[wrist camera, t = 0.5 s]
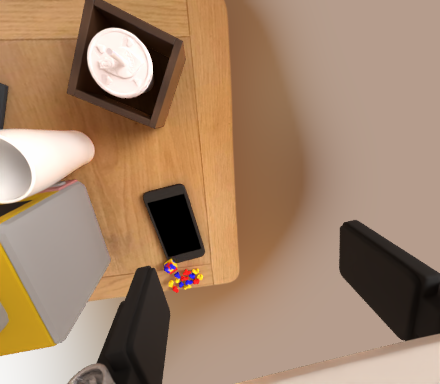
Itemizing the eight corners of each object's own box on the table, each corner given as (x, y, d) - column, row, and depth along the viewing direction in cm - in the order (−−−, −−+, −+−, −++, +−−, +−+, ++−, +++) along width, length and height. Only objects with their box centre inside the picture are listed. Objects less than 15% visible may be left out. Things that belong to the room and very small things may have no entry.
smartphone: (169, 263, 42) (168, 266, 41) (141, 192, 37) (140, 194, 36) (206, 253, 42) (206, 256, 41) (183, 181, 37) (183, 182, 36)
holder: (114, 24, 29) (86, -9, 22) (185, 59, 31) (183, 41, 24) (96, 98, 32) (66, 93, 24) (163, 126, 34) (154, 129, 26)
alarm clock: (90, 172, 35) (-13, 228, 18) (117, 255, 40) (59, 359, 23) (-40, 191, 34) (-288, 269, 16) (6, 273, 39) (-144, 398, 22)
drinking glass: (107, 165, 35) (47, 198, 21) (63, 172, 34) (-27, 210, 20) (92, 121, 33) (14, 124, 18) (46, 128, 32) (-70, 137, 18)
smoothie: (167, 101, 33) (148, 90, 20) (123, 104, 32) (74, 96, 19) (159, 51, 31) (132, 3, 17) (112, 55, 30) (49, 7, 17)
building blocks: (206, 277, 43) (205, 271, 45) (180, 258, 39) (179, 252, 41) (181, 295, 44) (180, 288, 45) (153, 278, 40) (153, 271, 41)
